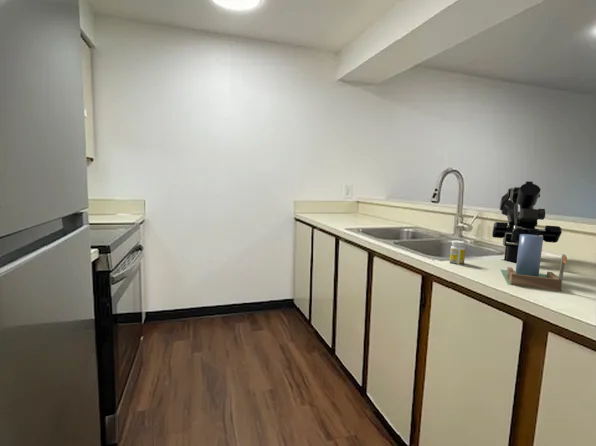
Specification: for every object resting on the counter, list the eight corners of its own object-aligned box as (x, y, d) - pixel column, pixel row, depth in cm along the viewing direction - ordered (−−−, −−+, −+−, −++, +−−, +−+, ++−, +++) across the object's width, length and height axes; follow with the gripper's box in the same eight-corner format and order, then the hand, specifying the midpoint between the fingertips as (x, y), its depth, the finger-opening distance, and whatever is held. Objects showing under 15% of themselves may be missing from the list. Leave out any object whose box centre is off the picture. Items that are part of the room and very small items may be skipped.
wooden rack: (506, 276, 107) (510, 244, 106) (552, 282, 102) (556, 249, 101) (511, 286, 96) (515, 251, 95) (563, 293, 92) (568, 256, 90)
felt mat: (500, 271, 116) (500, 269, 115) (546, 276, 110) (546, 274, 110) (507, 286, 98) (507, 284, 98) (563, 294, 93) (563, 291, 93)
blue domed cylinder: (510, 275, 109) (515, 234, 107) (524, 273, 111) (528, 233, 109) (529, 280, 103) (534, 237, 101) (543, 279, 105) (548, 237, 103)
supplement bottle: (462, 263, 125) (464, 240, 124) (465, 266, 120) (467, 243, 119) (448, 262, 126) (450, 239, 125) (450, 265, 121) (452, 242, 120)
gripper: (496, 198, 117) (496, 234, 108) (564, 201, 109) (569, 240, 101) (492, 219, 125) (491, 254, 116) (554, 223, 117) (559, 261, 109)
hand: (526, 252), depth 110 cm, fingers closed
